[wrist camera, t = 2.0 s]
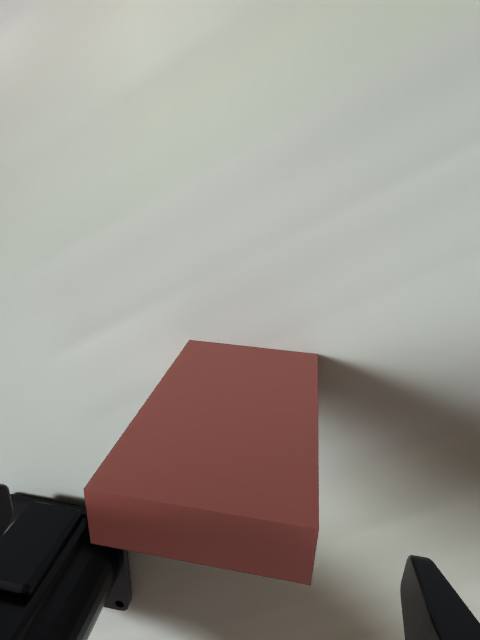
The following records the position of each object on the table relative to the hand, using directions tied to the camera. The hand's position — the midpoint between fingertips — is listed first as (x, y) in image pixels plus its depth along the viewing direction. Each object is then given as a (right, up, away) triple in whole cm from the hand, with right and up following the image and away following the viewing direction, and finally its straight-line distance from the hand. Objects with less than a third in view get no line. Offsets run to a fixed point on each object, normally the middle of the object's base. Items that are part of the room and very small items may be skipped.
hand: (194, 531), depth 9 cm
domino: (+1, +3, +7) cm, 8 cm away
